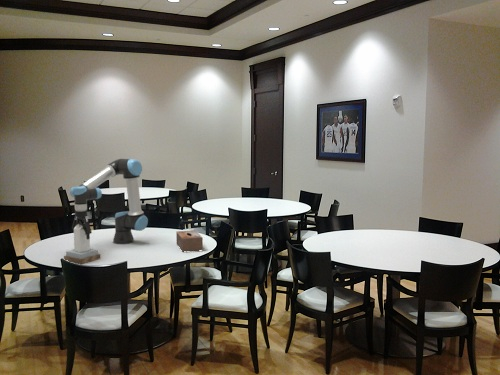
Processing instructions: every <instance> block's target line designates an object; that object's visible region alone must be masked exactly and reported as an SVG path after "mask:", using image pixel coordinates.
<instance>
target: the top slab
mask: <svg viewBox="0 0 500 375" xmlns="http://www.w3.org/2000/svg"><path fill="white" fill-rule="evenodd" d="M98 254H99V250H98V249H97V248H95V249H94V248H90V250H89V251H84V252H77V251H74V249H71V250H67V251H65V256H68V257H73V258H78V259H83V258H87V257H90V256H94V255H98Z"/></svg>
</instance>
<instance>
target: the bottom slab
mask: <svg viewBox="0 0 500 375" xmlns="http://www.w3.org/2000/svg"><path fill="white" fill-rule="evenodd" d="M64 259H65V260H68V261H70V262H69V263H72V262H73V263H72V264H77V263H78V265H83V264H86V263H87V264H88V263H90V262H94V261H97V260H101V253H98V255H94V256H90V257H87V258H83V259H78V258H73V257H68V256H66V255H64V256H63V260H64ZM68 261H67V262H68Z"/></svg>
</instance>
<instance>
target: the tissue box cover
mask: <svg viewBox="0 0 500 375" xmlns="http://www.w3.org/2000/svg"><path fill="white" fill-rule="evenodd" d="M175 236H176V246H179V247H180V248H179V247H178V248H179V250H180V249H181V250H182V251H181V250H180V251H181V252H182V253H185V252H184V251H195V252H199V251H198V250H203V249H204V248H203V236H202V235H201V234H200V233H199V232H198V231H197V230H180V231H178V230H177V231H176V235H175Z"/></svg>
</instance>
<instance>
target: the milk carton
mask: <svg viewBox="0 0 500 375" xmlns="http://www.w3.org/2000/svg"><path fill="white" fill-rule="evenodd" d="M83 224H84V223H83ZM85 234H86V233H85V231H84V228H83V226H81V225H80V224H78V225H76V226H75V227H74V231H73V247H74V248H73V250H74V251H77V252H84V251H89V250H90V249H91V246H90V244H91V243H90V244H85Z"/></svg>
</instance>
